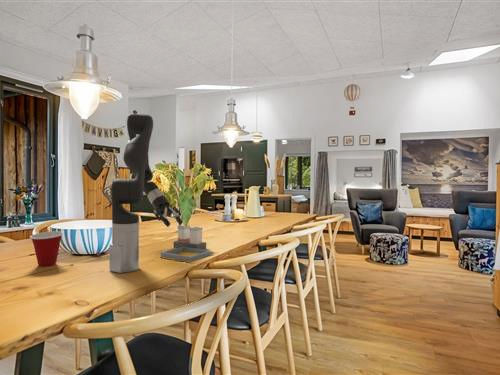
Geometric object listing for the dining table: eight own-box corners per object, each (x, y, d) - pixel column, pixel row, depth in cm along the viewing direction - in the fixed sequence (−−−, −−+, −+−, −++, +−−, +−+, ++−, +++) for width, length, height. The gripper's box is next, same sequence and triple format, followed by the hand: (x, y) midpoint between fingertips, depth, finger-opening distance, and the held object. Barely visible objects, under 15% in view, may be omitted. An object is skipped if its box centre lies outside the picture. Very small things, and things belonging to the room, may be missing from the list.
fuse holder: (196, 253, 149) (196, 244, 149) (173, 249, 156) (173, 241, 156) (206, 250, 155) (206, 242, 155) (183, 247, 162) (183, 239, 162)
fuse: (196, 250, 151) (196, 228, 150) (189, 249, 153) (189, 227, 152) (202, 249, 154) (202, 227, 154) (195, 247, 156) (195, 226, 156)
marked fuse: (184, 248, 154) (184, 227, 154) (177, 247, 156) (177, 226, 156) (190, 247, 158) (190, 226, 158) (183, 246, 160) (183, 225, 160)
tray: (189, 263, 131) (190, 257, 131) (160, 258, 139) (160, 252, 139) (211, 256, 143) (211, 250, 143) (183, 252, 151) (183, 246, 151)
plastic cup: (22, 266, 123) (22, 234, 123) (48, 260, 133) (48, 230, 133) (44, 269, 119) (44, 236, 119) (69, 262, 130) (69, 232, 129)
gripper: (151, 195, 158) (169, 221, 152) (172, 194, 170) (189, 218, 164) (143, 205, 160) (160, 231, 155) (164, 204, 173) (181, 228, 167)
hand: (175, 224), depth 160 cm, fingers open, 8 cm apart
